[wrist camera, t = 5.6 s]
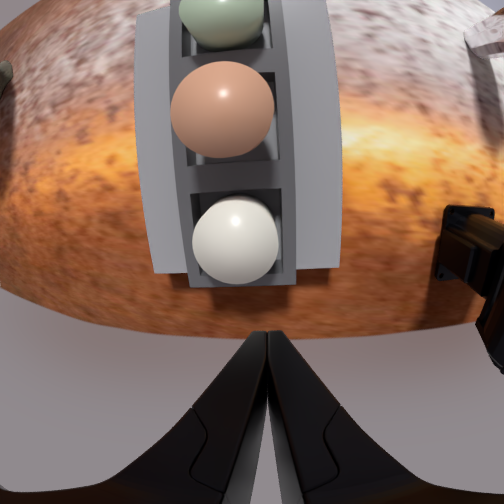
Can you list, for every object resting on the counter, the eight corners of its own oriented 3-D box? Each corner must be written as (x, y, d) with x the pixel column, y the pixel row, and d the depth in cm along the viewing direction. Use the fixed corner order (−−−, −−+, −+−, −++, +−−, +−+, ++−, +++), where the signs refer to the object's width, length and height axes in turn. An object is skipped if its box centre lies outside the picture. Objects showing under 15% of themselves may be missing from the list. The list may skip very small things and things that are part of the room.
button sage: (261, -3, 10) (260, -27, 7) (266, 50, 11) (266, 30, 9) (192, 4, 10) (179, -17, 8) (192, 57, 12) (178, 40, 9)
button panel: (318, 11, 13) (331, -19, 8) (330, 253, 19) (347, 281, 15) (150, 27, 13) (124, 3, 9) (166, 259, 20) (143, 287, 15)
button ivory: (274, 191, 14) (277, 200, 12) (276, 261, 16) (279, 282, 13) (200, 195, 14) (187, 205, 12) (208, 263, 16) (198, 285, 13)
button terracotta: (269, 75, 11) (270, 57, 8) (274, 154, 12) (276, 154, 10) (186, 83, 11) (169, 69, 9) (191, 160, 12) (173, 163, 10)
